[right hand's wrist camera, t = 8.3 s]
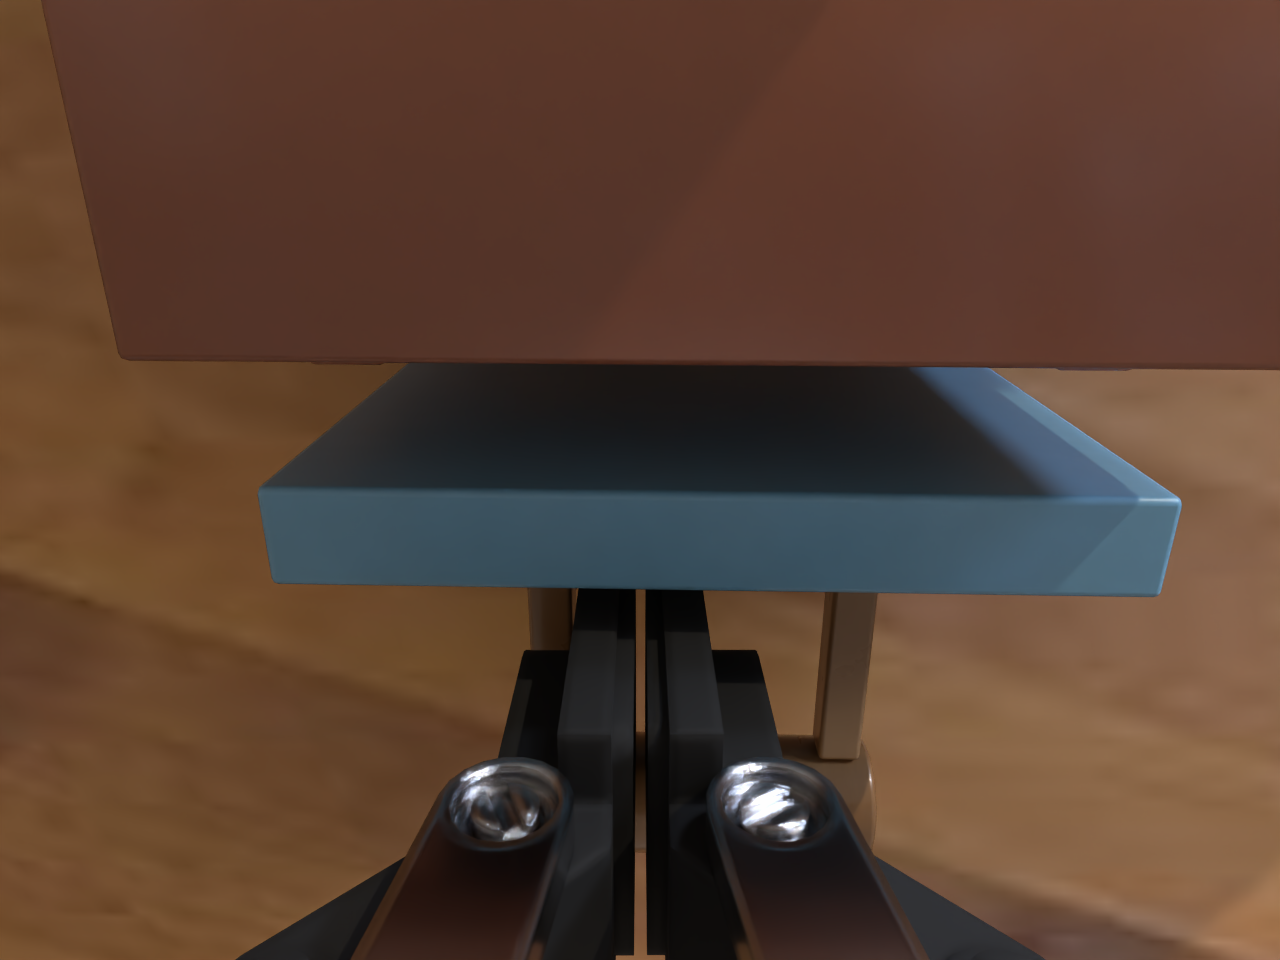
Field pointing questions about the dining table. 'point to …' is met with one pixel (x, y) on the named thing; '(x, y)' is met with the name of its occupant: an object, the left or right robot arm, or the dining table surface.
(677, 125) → the cabinet
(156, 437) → the dining table surface
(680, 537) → the drawer
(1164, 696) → the dining table surface
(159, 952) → the dining table surface
